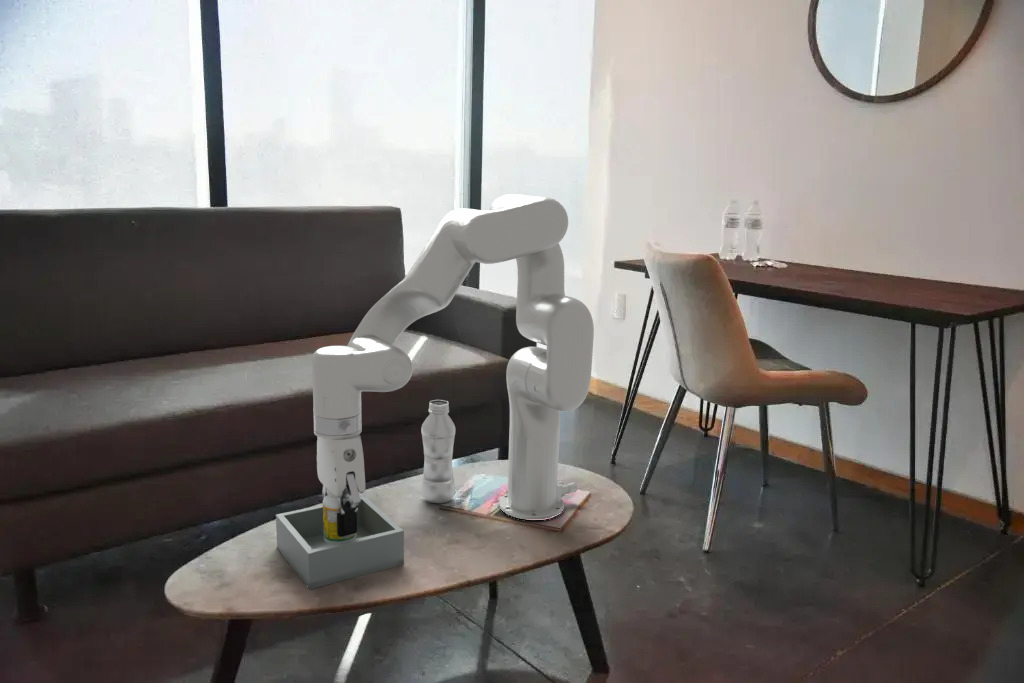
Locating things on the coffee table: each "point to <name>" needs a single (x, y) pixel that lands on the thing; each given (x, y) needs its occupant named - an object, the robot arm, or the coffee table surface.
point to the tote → (339, 545)
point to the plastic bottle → (438, 454)
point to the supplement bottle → (333, 519)
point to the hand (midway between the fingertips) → (340, 526)
